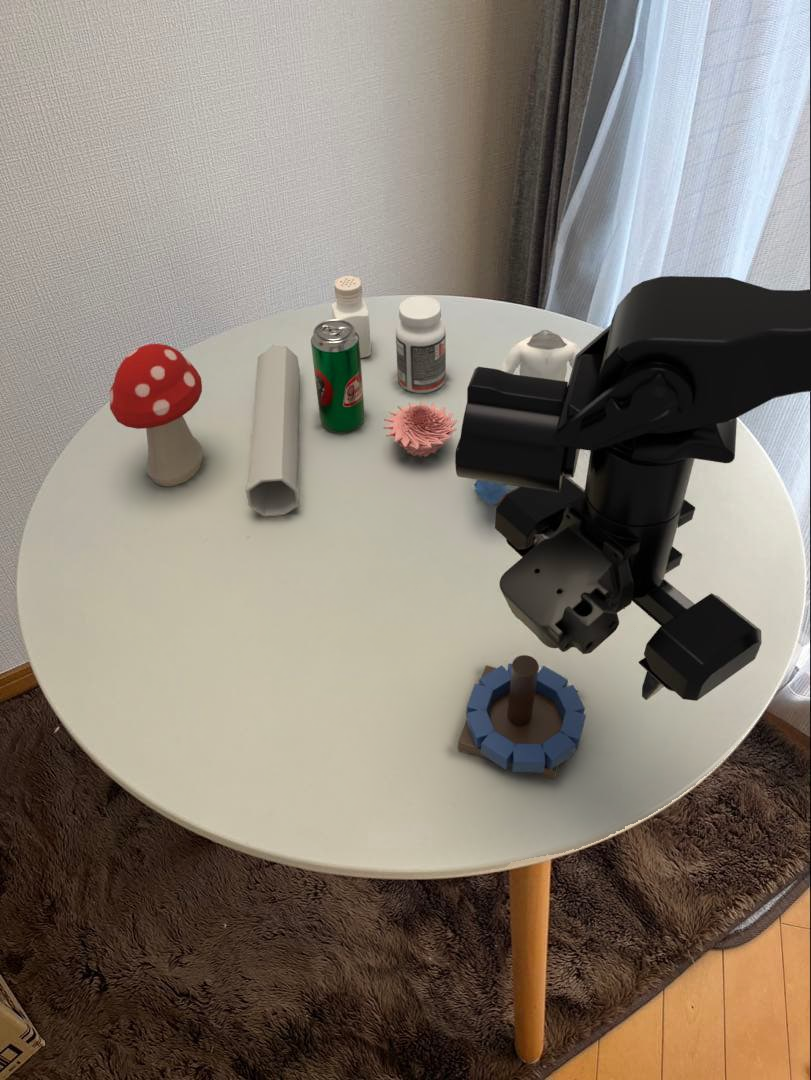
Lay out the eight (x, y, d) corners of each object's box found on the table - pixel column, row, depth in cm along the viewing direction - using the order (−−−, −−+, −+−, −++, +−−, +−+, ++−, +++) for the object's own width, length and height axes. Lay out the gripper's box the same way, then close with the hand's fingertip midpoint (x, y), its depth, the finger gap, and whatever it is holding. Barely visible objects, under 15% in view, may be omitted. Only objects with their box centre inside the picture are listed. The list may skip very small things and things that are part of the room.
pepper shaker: (372, 358, 110) (367, 289, 103) (340, 363, 110) (333, 294, 103) (365, 339, 113) (361, 271, 106) (334, 344, 112) (327, 276, 105)
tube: (248, 345, 106) (236, 487, 88) (289, 329, 105) (285, 471, 87) (268, 379, 110) (260, 523, 92) (308, 365, 108) (308, 507, 91)
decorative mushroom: (173, 430, 102) (142, 315, 91) (236, 452, 99) (211, 336, 88) (116, 484, 96) (75, 368, 85) (181, 509, 93) (147, 392, 82)
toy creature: (588, 409, 102) (602, 318, 94) (593, 443, 98) (608, 351, 89) (482, 408, 103) (486, 317, 94) (483, 442, 99) (487, 351, 90)
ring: (592, 690, 75) (595, 679, 74) (567, 788, 69) (569, 778, 68) (486, 661, 77) (487, 650, 76) (452, 753, 71) (453, 743, 70)
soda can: (355, 439, 100) (347, 348, 91) (313, 430, 101) (301, 339, 92) (371, 411, 103) (365, 321, 94) (330, 403, 104) (320, 313, 95)
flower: (448, 479, 95) (449, 438, 91) (375, 468, 96) (373, 428, 92) (463, 431, 100) (464, 391, 96) (393, 422, 101) (391, 382, 97)
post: (576, 698, 76) (588, 639, 70) (554, 779, 71) (565, 723, 65) (485, 672, 78) (489, 613, 72) (457, 750, 73) (459, 693, 67)
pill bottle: (453, 373, 108) (454, 300, 100) (433, 399, 104) (433, 326, 97) (410, 361, 109) (408, 289, 102) (389, 387, 106) (385, 314, 99)
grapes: (534, 535, 89) (544, 442, 80) (465, 533, 89) (468, 440, 81) (529, 457, 97) (538, 365, 88) (466, 456, 97) (469, 364, 89)
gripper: (430, 464, 55) (434, 622, 67) (651, 663, 44) (611, 811, 56) (566, 396, 59) (548, 556, 71) (799, 563, 49) (733, 720, 60)
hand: (602, 651), depth 64 cm, fingers open, 9 cm apart
